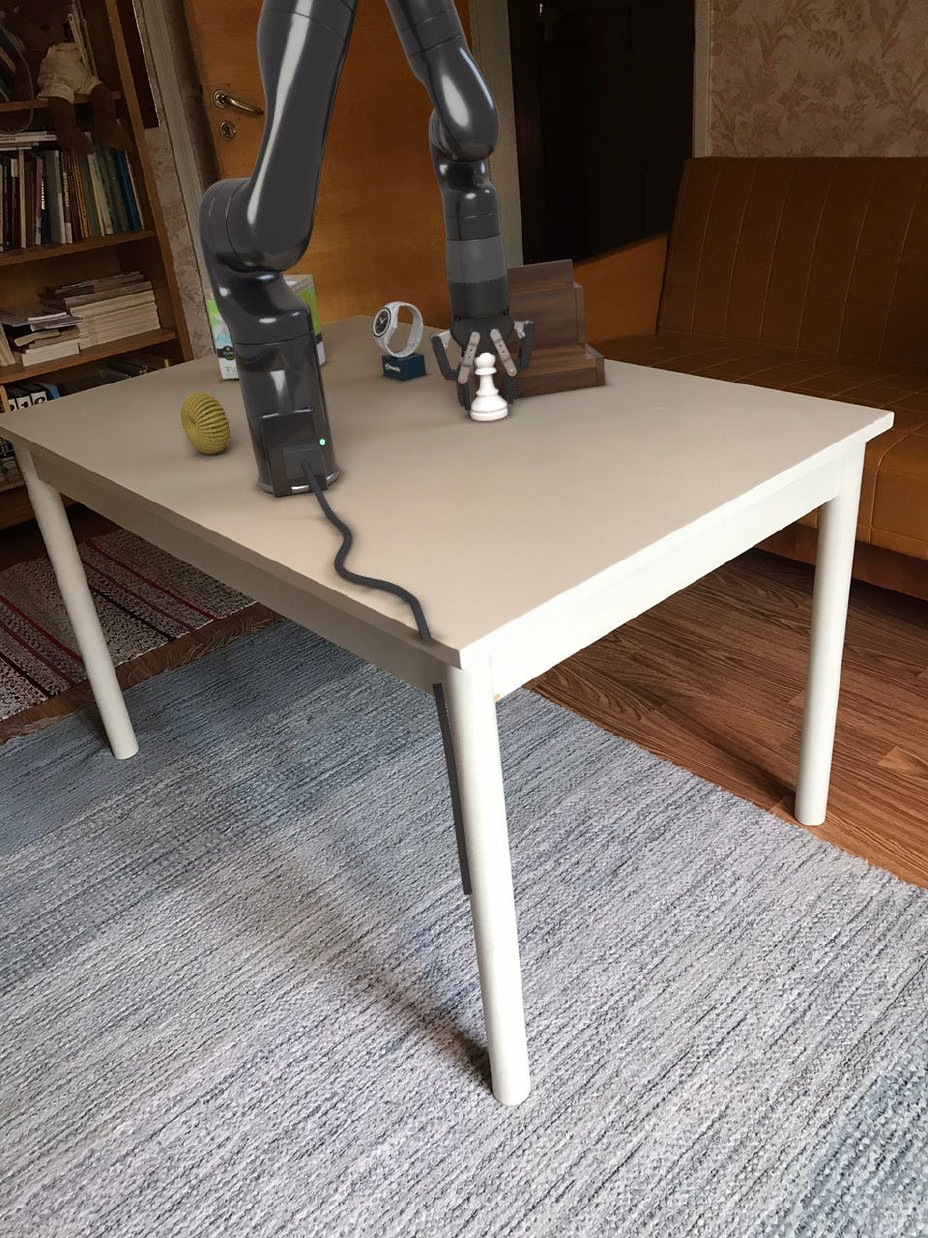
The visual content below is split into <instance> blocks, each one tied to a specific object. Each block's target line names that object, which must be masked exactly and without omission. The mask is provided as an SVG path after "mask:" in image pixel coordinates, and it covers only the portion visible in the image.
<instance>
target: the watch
mask: <svg viewBox="0 0 928 1238" xmlns="http://www.w3.org/2000/svg"><path fill="white" fill-rule="evenodd" d="M402 306H404V307H406V308H407V309H408V310H409V311H410V313H411V314H412V317H413V318H412V324H411V327H410V334H409V337H408V340H407V342H406V344H407V346H406V347H405V348H404V349H401V350H397V351H394V352H393V351H391V349H390V348H389V347H388V346H389V344H390V340H391V337H392V336H393V335H394V333H395V331H396V329H397V328H398V313H399V310H400V307H402ZM424 326H425V325H424V322H423V317H422V314H421V311H420V310H419V309H418V308H417V307H416V306H415V305H414V304H411V303H408V302H402V301H392V302H389V303H387V304H386V305H384V306H382V307H380V308H379V309H378V311H377V312H376V314H375V315H374V317H373V320H372V324H371V332H372V335H373V337H374V341H375V343H376V345H377V347H378V349H379V350H380V351H381V352H383V353H384V354H383V355H381V365H382V371H383V376H384V377H386V378H387V377H388V378H391V379H394V380H397V381H400V382H405V381H408V380H412V379H416V378H419V377H422V376H425V375H427V369H426V362H425V354H423V353H419V352H416V351H415V350H417V349H418V348H419V345H420V343H421V341H422V337H423V332H424Z"/></svg>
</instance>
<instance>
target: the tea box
mask: <svg viewBox="0 0 928 1238" xmlns="http://www.w3.org/2000/svg"><path fill="white" fill-rule="evenodd" d="M283 277H284V279H285V281H286V283H287V284H288V286H289V287H290V288H291V290H292V291H293V292H294V293H295V294H296V295H298V296H299V297H300V298H301V299H303V300H304V301H305V302H306V303H307V304H308V305H309V307H310V310H311V314H312V319H313V325H314V331H315V337H316V343H317V349H318V356H319V362H320V367H321V366H322V365H323V364H325V362H326V356H325V349H324V342H323V334H322V329H321V328H322V327H321V322H320V316H319V309H318V302H317V296H316V295H317V294H316V290H315V289H316V288H315V283H314V277H313V274H310V273H309V274H288V275H287V274H286V275H283ZM204 296H205V301H206V306H207V307H206V308H207V312H208V316H209V321H210V325H211V331H212V337H213V341H214V347H215V350H216V355H217V356H216V357H217V360H218V364H219V369H220V373H221V378H222V380H233V379H239V377H238V372H237V367H236V362H235V357H234V352H233V347H232V342H231V338H230V333H229V329H228V327H227V325H226V323H225V321H224V320H223V318H222V317H221V315H220V313H219V311H218V309H217V306H216V303H215V300H214V296H213V292H212V288H211V287H209V288H208V289H204Z"/></svg>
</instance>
